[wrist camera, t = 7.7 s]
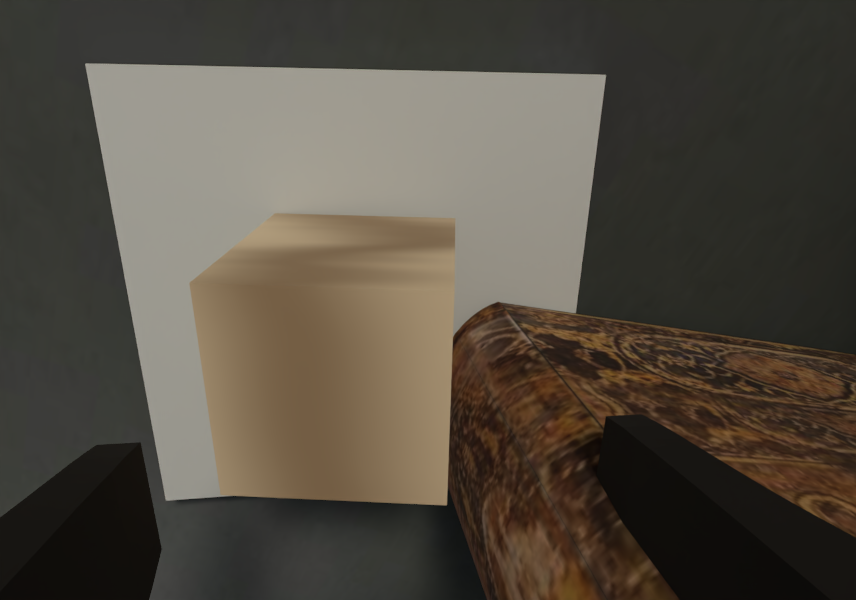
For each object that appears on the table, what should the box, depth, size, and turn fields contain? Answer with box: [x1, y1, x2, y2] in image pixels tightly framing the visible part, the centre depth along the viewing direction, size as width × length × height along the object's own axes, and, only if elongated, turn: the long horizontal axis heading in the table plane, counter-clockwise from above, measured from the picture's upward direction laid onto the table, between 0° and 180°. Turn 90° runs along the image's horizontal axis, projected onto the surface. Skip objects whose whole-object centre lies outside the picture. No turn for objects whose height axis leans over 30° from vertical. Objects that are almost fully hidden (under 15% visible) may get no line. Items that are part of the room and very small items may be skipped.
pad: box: [85, 64, 606, 501], centre depth 16 cm, size 12×12×1 cm
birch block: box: [189, 213, 455, 505], centre depth 13 cm, size 4×4×5 cm
